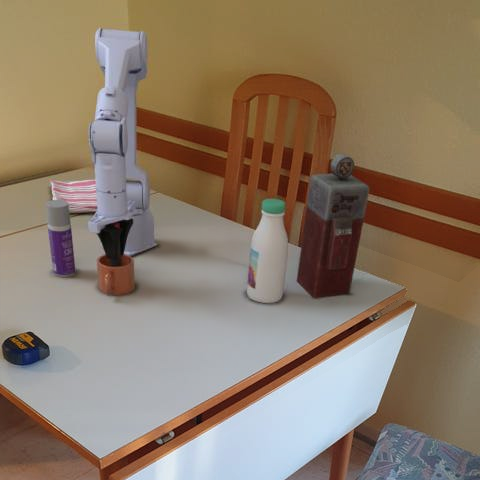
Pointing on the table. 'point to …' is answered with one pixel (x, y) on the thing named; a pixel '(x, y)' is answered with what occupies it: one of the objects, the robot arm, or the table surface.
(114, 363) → the table surface
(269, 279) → the milk bottle
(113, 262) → the marker
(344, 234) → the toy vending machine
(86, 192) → the dish towel
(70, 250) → the container
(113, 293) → the orange coffee mug
